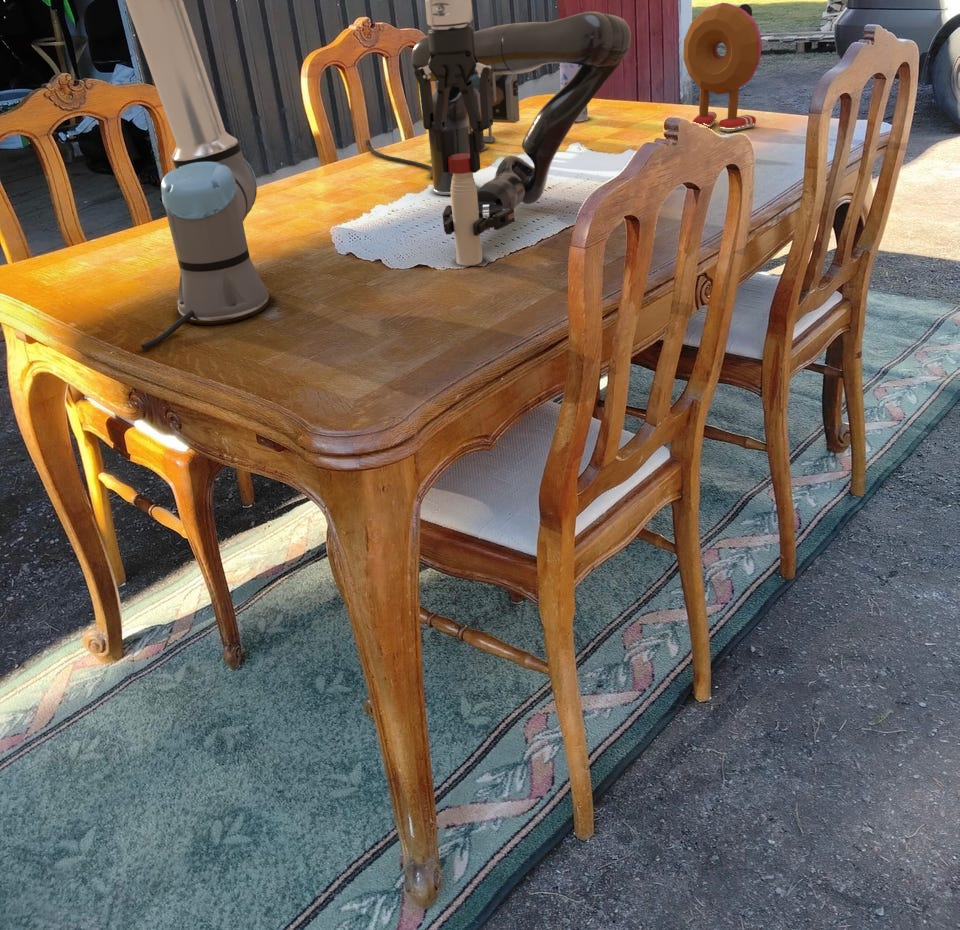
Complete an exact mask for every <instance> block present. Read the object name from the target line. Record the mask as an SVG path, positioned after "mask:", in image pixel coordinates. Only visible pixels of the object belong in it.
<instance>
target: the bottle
mask: <svg viewBox="0 0 960 930" xmlns="http://www.w3.org/2000/svg"><path fill="white" fill-rule="evenodd" d="M450 189H451V191H450V193H451V195H450V202H451V206H452V216H453V227H454V232H453V236H454V249H455V257H456V264H457V265H459V266H465V267H466V266H467V267H469V266H475V265H478V264H481V263H482V262H483V249H482V238H481V234H480V235H479V236H474V232H473V224H474V223H475V222H476V221H477V220H478V219H479V209H478V196H477V190H478V188H477V185H476V181H475V178H474V173H473V174H472V173H471V172H469V173H462V174H455V173H453V176H452V180H451V188H450Z"/></svg>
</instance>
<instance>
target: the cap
mask: <svg viewBox="0 0 960 930" xmlns="http://www.w3.org/2000/svg"><path fill="white" fill-rule="evenodd" d="M448 170H449V172H450V173H455V174H462V173H469V172H471V161H470V154H469V153H460V154H454V155H451V156H449V157H448Z"/></svg>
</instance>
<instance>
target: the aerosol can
mask: <svg viewBox="0 0 960 930" xmlns="http://www.w3.org/2000/svg"><path fill="white" fill-rule="evenodd" d="M580 66H581V65H578V64H569V63H559V79H560V81H559V83H560V84H559V85H560V90H561V89H562V88H563V87H564V86H565V85H566V84H567V83H568V82H569V81H570V79H571V78H572V77H573V76H574V75H575V73H576V72H577V70H578V69H579V67H580ZM587 120H589V116H588V105H587V106H586V107H585V108H584V110H583V111H582V112H581V114H580V115H579V116H578V118H577V119H576V121H575V122H574V123H580V122H584V121H587Z"/></svg>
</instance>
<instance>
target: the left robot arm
mask: <svg viewBox="0 0 960 930" xmlns="http://www.w3.org/2000/svg"><path fill="white" fill-rule="evenodd" d="M124 1H125V3H126V6H127V9H128V12H129V15H130V18H131V20H132V23H133V26H134V29H135V32H136V34H137V38H138V40H139V43H140V46H141V48H142V51H143V54H144V57H145V60H146V63H147V65H148V68H149V72H150V74H151V77H152V79H153V82H154V84H155V85H154V86H155V88H156V90H157V94H158V97H159V99H160V102H161V105H162V108H163V110H164V114H165V116H166V119H167V123H168V124H169V127H170V131H171V134H172V136H173V138H174V142H175V144H176V145H175V149H174V151H173V153H172V155H171V160H172V163H173V165H174V168H173V169H172V170H170V171H169V172H167V173H166V174H165V175H164V176H163V178H162V180H161V182H160V191H161V200H162V205H163V207H164V209H165V214H166V217H167V221H168V226H169V230H170V234H171V238H172V241H173V247H174V250H175V254H176V258H177V262H178V266H179V283H178V294H177V310H178V314H179V318H178V320H176V321H175V322H174V323H173V324H171V326H169V327H168V328H167V329H166V330H165V331H164V332H162V333H161V334H159V335H158V336H156V337H155V338H152V339H150V340H148V341H145V342H144V343H142V344H140V345H141V346H140V347H141V349H142V350H143V351H146V350H148V349H151V348H153V347H156V346H157V345H158V344H160V343H162V342H164V341H165V340H167V338H169V337H170V336H172V335H173V333H174V332H176V331H177V330H178V329H179V328H180V327H181V326H183V325H184V324H185V323H189V324H193V325H202V326H203V325H204V326H205V325H206V326H210V325H222V324H230V323H233V322H239V321H241V320H245V319H248V318H251V317H253V316H256V315H258V314H260V312H263V311H264V310H265V309H266V308H267V307H268V306H269V305H270V296H269V292H268V290H267V287H266V284H265V283H264V282H263V280H262V278H261V276H260V274H259V272H258V270H257V269H256V267H255V265H254V264H253V262H252V260H251V257H250V251H249V246H248V241H247V236H246V232H245V227H244V222H245V220H246V217H247V216H248V215H249V213H250V212H251V210H252V209H253V207H254V205H255V203H256V199H257V194H258V191H257V190H258V185H257V178H256V174H255V172H254V169H253V168H252V166H251V164H250V163H249V161H247V160H246V159H245V158H244V155H243V151H242V150H241V146H240V142H239V141H238V139H237V138H236V137H235V136H233V135H231V134H229V133H228V132H227V131H226V128H225V125H224V122H223V120H222V116H221V113H220V110H219V106H218V104H217V102H216V98H215V94H214V92H213V89H212V86H211V82H210V80H209V77H208V74H207V71H206V68H205V65H204V61H203V59H202V55H201V52H200V50H199V46H198V43H197V40H196V37H195V34H194V31H193V28H192V24H191V21H190V18H189V15H188V12H187V9H186V7H185V3H184V0H124ZM375 1H378V2H383V1H385V0H375ZM424 7H425V15H426V16H425V17H426V19H425V20H426V25H427V26H429V27H430V28H429V29H428V31H427V36H428V42H429V52H430V60H429V62H428V65H427V66H425V67H420V68H418V69H416V70H415V69H414V72H413V73H414V76H415V78H416V80H417V83H418V88H419V96H420V97H419V99H420V105H421V115H422V125H423V129H425V130H427V131H428V129H429V130H431V131H433V132H434V133H435V138H436V149H437V151H438V152H442V161H443V172H449V170H448V157H449V156H451V155H452V154H451V142H450V131H444V129H446V127H445V124H446V115H447V107H448V99H449V91H450V89H451V86H455V87H459V90H460V92H461V93H462V96H463V100H464V103H465V107H466V110H467V113H468V117H469V120H470V124H471V127H472V131H471V133H469V134H468V135H469V148H470V161H471V173H473V174H475V173H477V172H479V170H481V157H480V156H481V155H480V153H481V152H483V151H484V150H483V149H484V143H485V142H484V140H483V135H484V131H485V130H488V128H489V127H491V128H492V126H493V125H494V122H493V111H492V92H491V78H492V74H493V70H494V68H493V66H492V65H488V66H486V65H484V64H481V63H478V59H477V58H476V56H475V46H474V32H475V31H474V27H473V26H472V25H470V23H472V22H473V19H474V18H473V7H472V0H424ZM475 70H477V72H478V77H479V78H480V101H481V116H480V112H479V109H478V105H477V102H476V98H475V95H474V94H475V93H474V91H473V83H472V80H471V78H472V76H473V74H474V72H475ZM431 72H432V73H433V74H434V76H435V77H436V78H437V80H438V81H437V86H438V87H437V86H436V89H437V92H438V95H437V104H436V113H435V117H434V108H433V98H432V94H433V90H432V89H433V88H432V83H431V81H430V78H431ZM481 117H482V119H481ZM482 150H483V151H482Z"/></svg>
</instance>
